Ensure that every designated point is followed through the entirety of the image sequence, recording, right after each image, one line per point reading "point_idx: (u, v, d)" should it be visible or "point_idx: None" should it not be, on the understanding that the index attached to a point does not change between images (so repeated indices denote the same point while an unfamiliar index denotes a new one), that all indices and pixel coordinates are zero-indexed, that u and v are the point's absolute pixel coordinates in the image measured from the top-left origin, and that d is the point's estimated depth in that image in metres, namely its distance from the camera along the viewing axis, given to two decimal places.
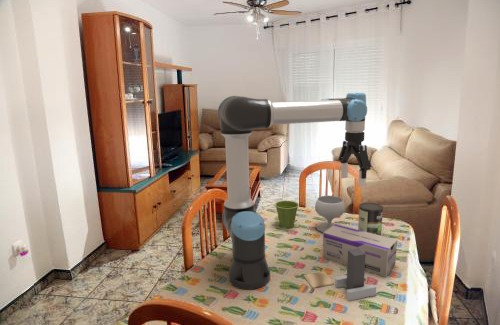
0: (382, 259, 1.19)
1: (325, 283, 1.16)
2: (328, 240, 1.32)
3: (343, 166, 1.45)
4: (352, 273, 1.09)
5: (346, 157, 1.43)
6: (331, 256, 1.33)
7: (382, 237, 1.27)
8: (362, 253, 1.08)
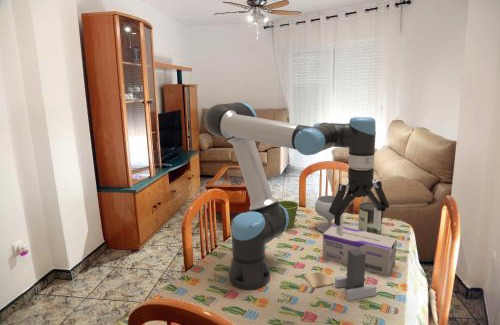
0: (384, 258, 1.19)
1: (325, 283, 1.16)
2: (328, 241, 1.31)
3: (375, 213, 1.09)
4: (352, 273, 1.09)
5: (372, 201, 1.07)
6: (331, 257, 1.32)
7: (382, 236, 1.28)
8: (362, 253, 1.08)
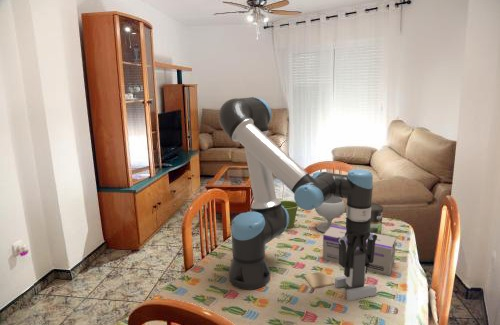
0: (385, 258, 1.20)
1: (325, 283, 1.16)
2: (328, 242, 1.31)
3: None
4: None
5: None
6: (332, 258, 1.31)
7: (381, 236, 1.29)
8: (362, 253, 1.08)
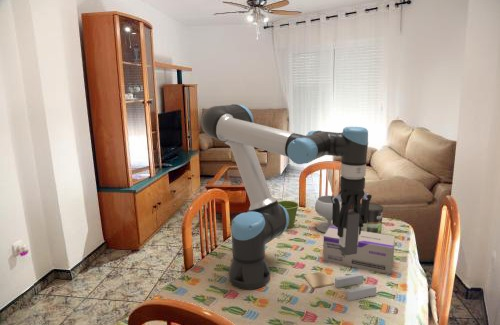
0: (387, 257, 1.21)
1: (325, 283, 1.16)
2: (328, 243, 1.30)
3: None
4: None
5: None
6: (332, 260, 1.30)
7: (380, 235, 1.29)
8: (356, 213, 1.07)
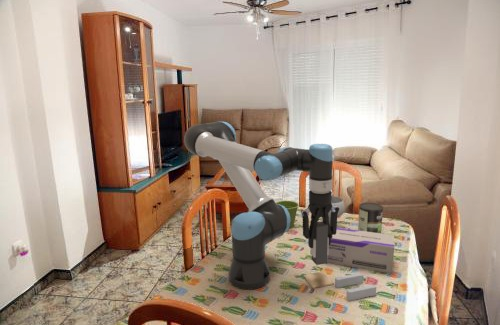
0: (388, 256, 1.21)
1: (325, 283, 1.16)
2: None
3: None
4: None
5: None
6: (333, 260, 1.30)
7: (380, 234, 1.30)
8: (325, 225, 1.13)
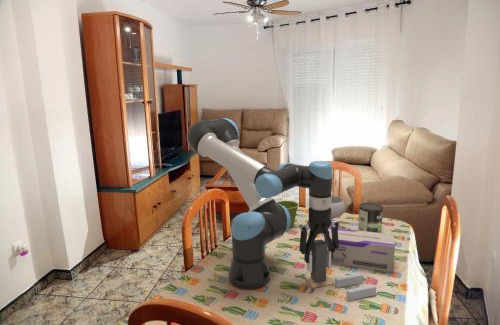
0: (389, 256, 1.21)
1: (325, 283, 1.16)
2: None
3: None
4: (314, 262, 1.16)
5: (326, 240, 1.16)
6: (333, 261, 1.29)
7: (379, 234, 1.30)
8: (324, 243, 1.15)
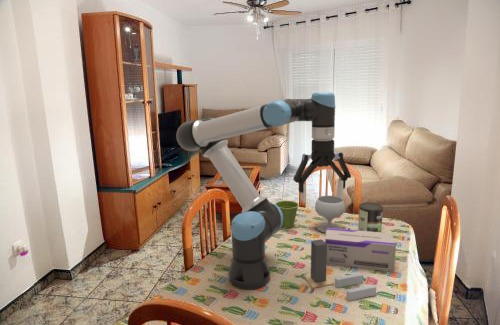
0: (390, 255, 1.22)
1: (325, 283, 1.16)
2: (330, 245, 1.28)
3: (338, 182, 1.17)
4: (314, 262, 1.16)
5: (335, 171, 1.16)
6: (334, 262, 1.29)
7: (378, 233, 1.31)
8: (324, 243, 1.15)
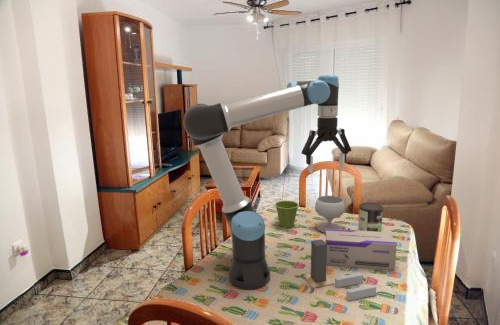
0: (391, 254, 1.23)
1: (325, 283, 1.16)
2: (331, 246, 1.27)
3: (340, 156, 1.33)
4: (314, 262, 1.16)
5: (337, 146, 1.32)
6: (335, 263, 1.28)
7: (377, 232, 1.32)
8: (324, 243, 1.15)
